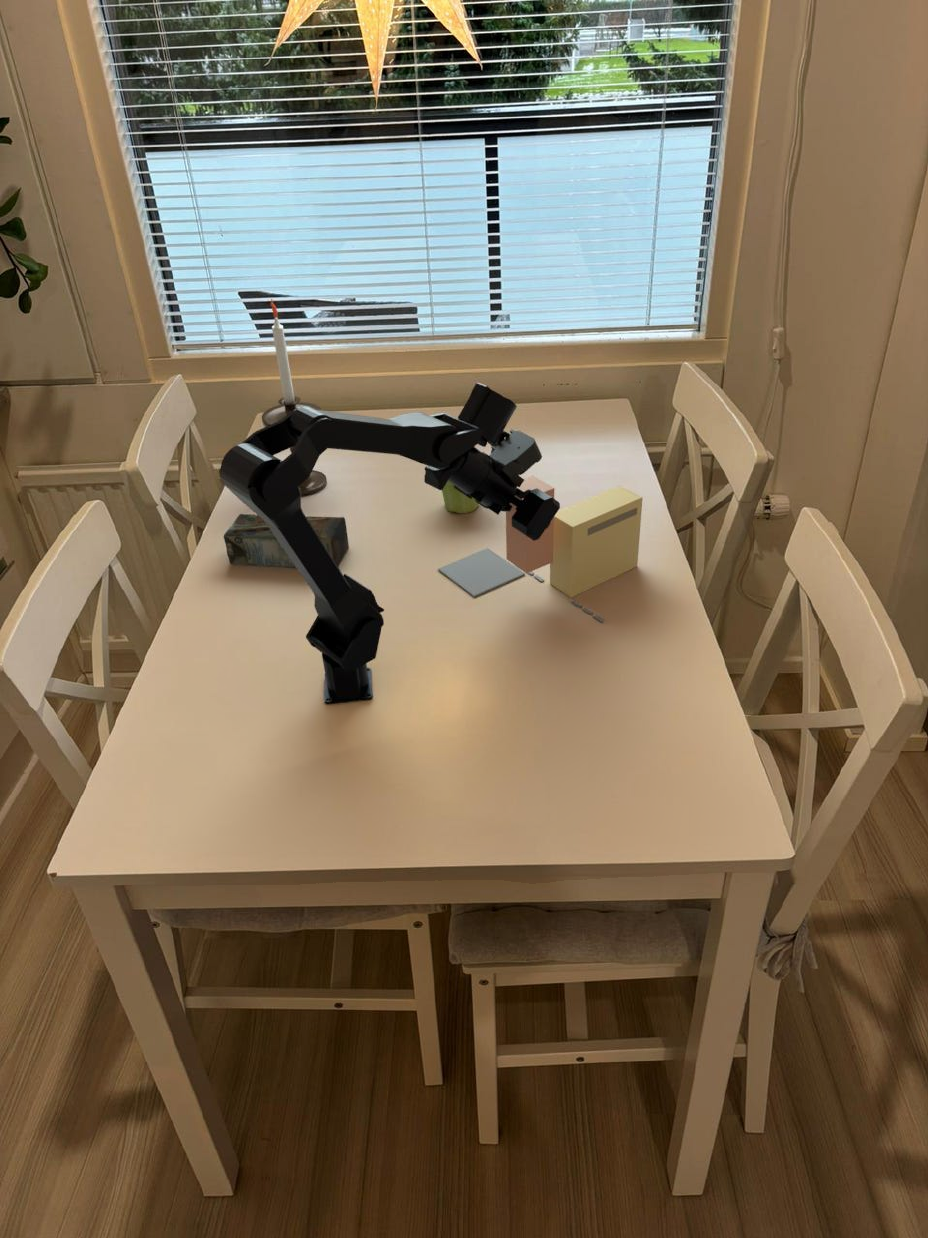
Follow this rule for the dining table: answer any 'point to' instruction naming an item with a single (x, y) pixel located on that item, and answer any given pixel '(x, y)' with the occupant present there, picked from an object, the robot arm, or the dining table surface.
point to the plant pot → (457, 500)
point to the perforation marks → (572, 601)
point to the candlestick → (290, 404)
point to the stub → (522, 547)
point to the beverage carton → (260, 547)
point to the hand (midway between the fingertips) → (536, 518)
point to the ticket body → (595, 540)
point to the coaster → (481, 572)
